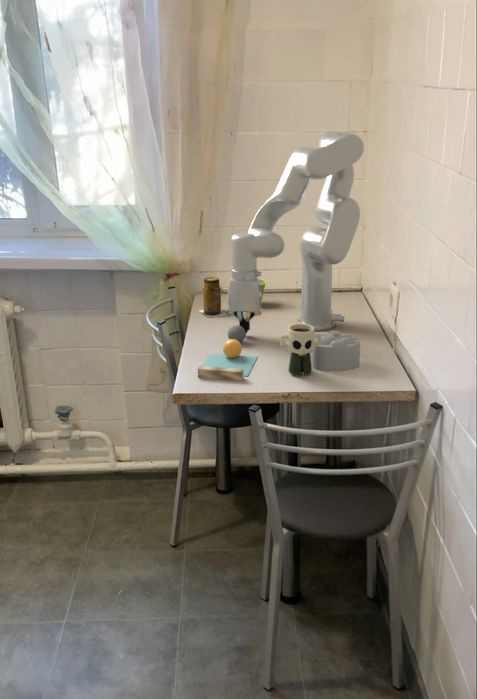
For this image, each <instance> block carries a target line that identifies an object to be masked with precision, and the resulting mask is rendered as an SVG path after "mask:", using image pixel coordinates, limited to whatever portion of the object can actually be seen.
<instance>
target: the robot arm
mask: <svg viewBox="0 0 477 699" xmlns="http://www.w3.org/2000/svg"><path fill="white" fill-rule="evenodd" d="M364 146H365V145H364V142H363V139H362V138H361V137H360V136H359V135H357V134H355V133H350V132H340V131H329V132H328V131H327V132H325V133H324V134H323V135H321V137H320V138H319V142H318V148H313V147H297V148H296V149H294V150H293V151H292V153H291V155H290V157H289V159H288V161H287V163H286V166H285V167H284V170H283V173H281V176H280V179H279V182H278V183H277V186H276V188H275V190H274V191H273V193H272V195H271V196H270V197H269V198H268V199H267V200H266V201H265V203H263V205H262V206H261V207H260V208H259V209H258V211H257V212H256V214H255V215H254V218H252V219H253V220H252V222H251V225H250V227H249V228H248V231H247V232H238V233H235V234H233V235H232V236H231V239H230V244H231V245H230V246H231V249H230V251H231V252H230V253H231V254H230V255H231V277H230V278H229V280H228V281H229V282H228V286H227V287H228V289H227V313H226V314H229V315H233V316H235V317H236V319H237V321H239V322H238V323H239V324H238V325H239V326H241V327H243V328H244V330H245V332H246V334H247V333H248V332H249V331H250V330H251V328H250V326H251V322H250V321H251V320H252V319H253V318H254V317H257V316H261V315H262V314H263V311H262V305H263V298H262V296H261V285H260V280H259V279H260V278H259V277H262V271H258V268H257V266H258V265H257V263H258V262H257V260H258V259H257V258H261V259H262V258H264V259H272V258H276V257H278V256H280V255H281V254H282V253H283V252H284V249H285V240H284V239H283V238H282V236H281V235H280V234H278V233H276V232H273V230H274V228H275V226H276V225H277V222H278V221H279V220H280V219H281V217H282V216H284V215H286V214H287V213H289V212H291V211H293V210H294V209H296V208H298V207H299V206H300V205H301V203H302V201H303V199H304V197H305V194H306V193H307V190H308V188H309V186H310V183H311V181H312V180H316V181H317V180H318V181H319V180H322V179H324V183H323V185H322V188H321V192H320V195H319V197H318V201H317V203H316V206H315V210H314V215H315V217H316V219H317V220H318V222H320V223H322V224H324V225H327V229H326V228H324V227H320V226H319V227H318V226H313V227H309V228H308V229H306V230H305V231H304V232H303V233H302V235H301V237H300V242H299V249H300V256H301V266H302V267H301V269H302V270H301V272H302V273H301V303H300V304H301V306H300V308H301V310H300V312H301V313H300V317H297V319H296V321H295V322H296V323H295V324H308V325H311V326H313V327H314V332H315V331H317V332H318V331H327V330H331V329H332V328H334V327H335V326H336V322H340V323H344V322H345V315H342V314H341V313H340V314H338V313H333V309H332V292H333V291H332V289H333V288H332V287H333V265H337V264H340V263H342V261H343V260H345V258H346V257H347V255H348V253H349V251H350V248H351V246H352V243H353V240H354V237H355V234H356V232H357V230H358V226H359V222H360V220H361V209H360V206H359V203H357V201H356V200H355V199H353V198H351V197H350V195H351V191H352V187H353V185H354V180H355V169H354V164H356V163H357V162H359V160H360V159H361V158H362V156H363V154H364V152H365V151H364V149H365V147H364ZM244 313H246V314H245V317H244Z"/></svg>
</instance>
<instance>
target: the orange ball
mask: <svg viewBox="0 0 477 699" xmlns="http://www.w3.org/2000/svg"><path fill="white" fill-rule="evenodd" d="M242 349H243V348H242V343H240V342H239V341H237V340H235V339H230V340H229V339H228V340H226V341H225V342H224V343H223V345H222V352H223V353H222V354H225V355H226V356H227V357H228V358H236V357H238V356H239V355H241V353H242V351H243V350H242Z"/></svg>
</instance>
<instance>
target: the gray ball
mask: <svg viewBox="0 0 477 699" xmlns="http://www.w3.org/2000/svg"><path fill="white" fill-rule="evenodd" d="M246 336H247V333H246V332H245V330H244V328H243V327H241V326H239V324H236V325H232V326H231V327H230V328H229V329H228V331H227V338H228V340H230V339H235V340H237V341H239V342H240V344H242V343H243V341H245V339H246Z"/></svg>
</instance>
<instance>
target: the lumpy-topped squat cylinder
mask: <svg viewBox="0 0 477 699" xmlns="http://www.w3.org/2000/svg"><path fill="white" fill-rule="evenodd" d="M320 334H321V344H320V345H314V349H313V351H312V353H311V354H312V355H311V363H312V369H314V370H316V371H319V372H320V371H321V372H333V373H335V372H340V373H341V372H348V371H353V370H356V369H357V368H359V367H360V360H361V358H360V357H361V340H360V339H359V338H357V337H354V336H352V335H351V334H349V333H341V332H340V331H339V330H331V331H330V332H329V333H324V332H323V333H320ZM317 341H318V337H314V342H317Z"/></svg>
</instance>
